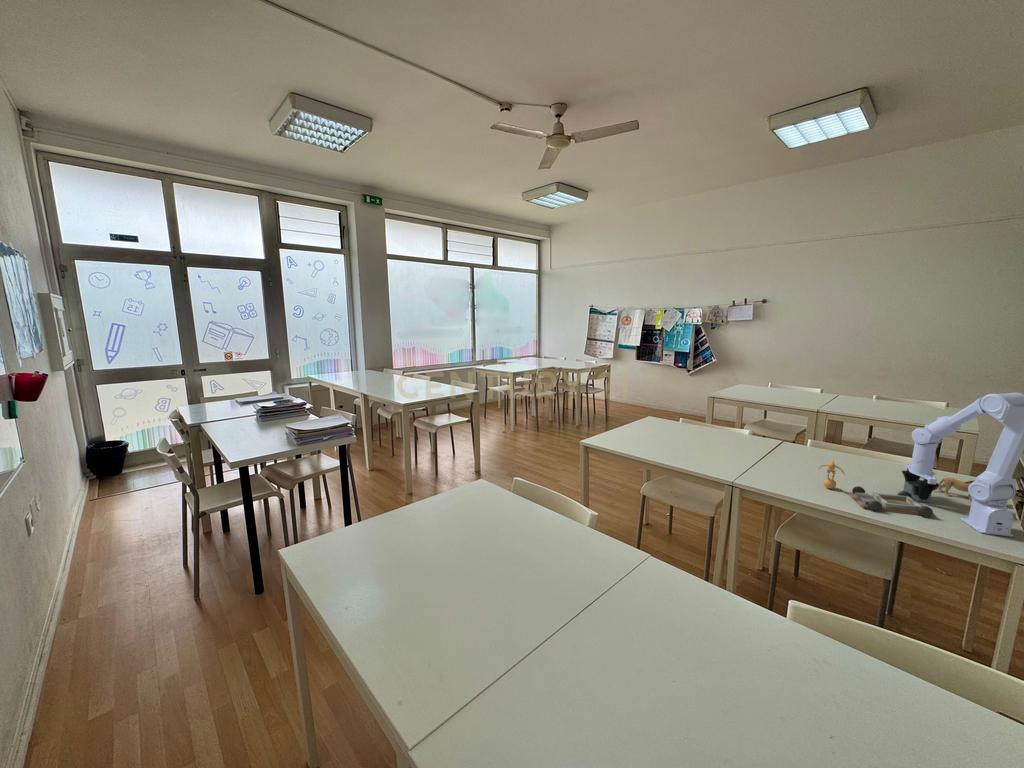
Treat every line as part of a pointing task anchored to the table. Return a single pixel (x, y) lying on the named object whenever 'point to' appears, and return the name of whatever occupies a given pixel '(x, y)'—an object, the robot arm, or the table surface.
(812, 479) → the table surface
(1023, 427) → the robot arm
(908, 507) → the toy car chassis
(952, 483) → the lion figurine
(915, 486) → the brushed grey box
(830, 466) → the figurine
